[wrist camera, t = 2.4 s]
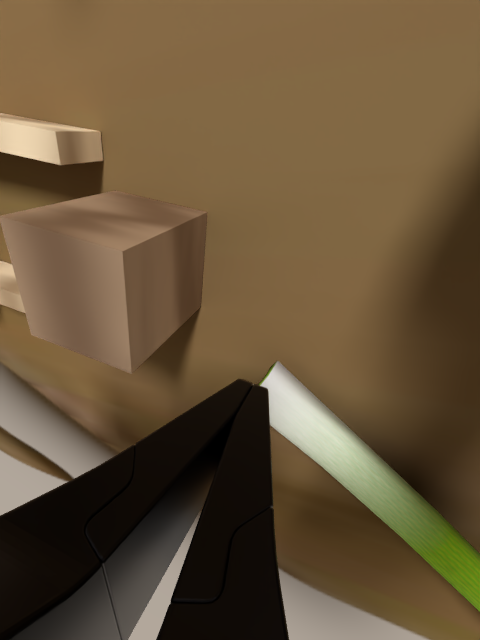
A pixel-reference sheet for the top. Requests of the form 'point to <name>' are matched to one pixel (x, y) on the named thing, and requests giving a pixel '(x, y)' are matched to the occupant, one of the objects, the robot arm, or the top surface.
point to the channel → (46, 146)
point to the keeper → (108, 273)
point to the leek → (370, 480)
